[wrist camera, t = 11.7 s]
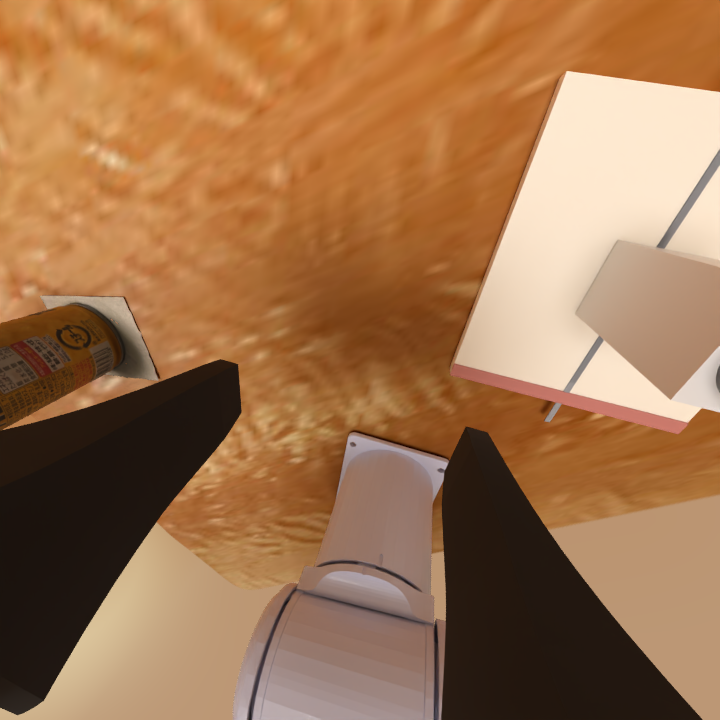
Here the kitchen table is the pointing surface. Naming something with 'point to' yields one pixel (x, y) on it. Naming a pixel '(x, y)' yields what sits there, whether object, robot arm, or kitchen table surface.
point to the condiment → (66, 352)
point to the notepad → (593, 240)
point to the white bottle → (661, 318)
